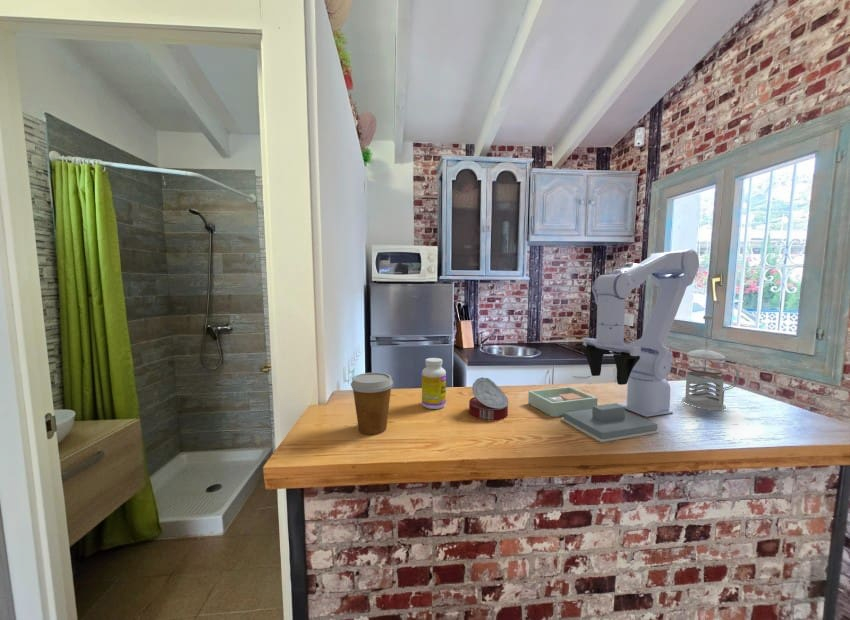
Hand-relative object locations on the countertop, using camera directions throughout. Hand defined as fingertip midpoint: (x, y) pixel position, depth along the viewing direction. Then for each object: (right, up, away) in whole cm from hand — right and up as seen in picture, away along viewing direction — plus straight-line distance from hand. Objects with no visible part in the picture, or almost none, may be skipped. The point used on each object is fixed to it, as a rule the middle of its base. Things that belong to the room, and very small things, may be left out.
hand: (608, 379), depth 76 cm
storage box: (-8, -9, +9) cm, 15 cm away
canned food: (-28, -10, +5) cm, 30 cm away
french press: (+34, -10, +10) cm, 36 cm away
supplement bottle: (-42, -10, +10) cm, 45 cm away
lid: (-2, -10, -3) cm, 10 cm away
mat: (-2, -10, -3) cm, 11 cm away
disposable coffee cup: (-57, -11, -4) cm, 58 cm away
